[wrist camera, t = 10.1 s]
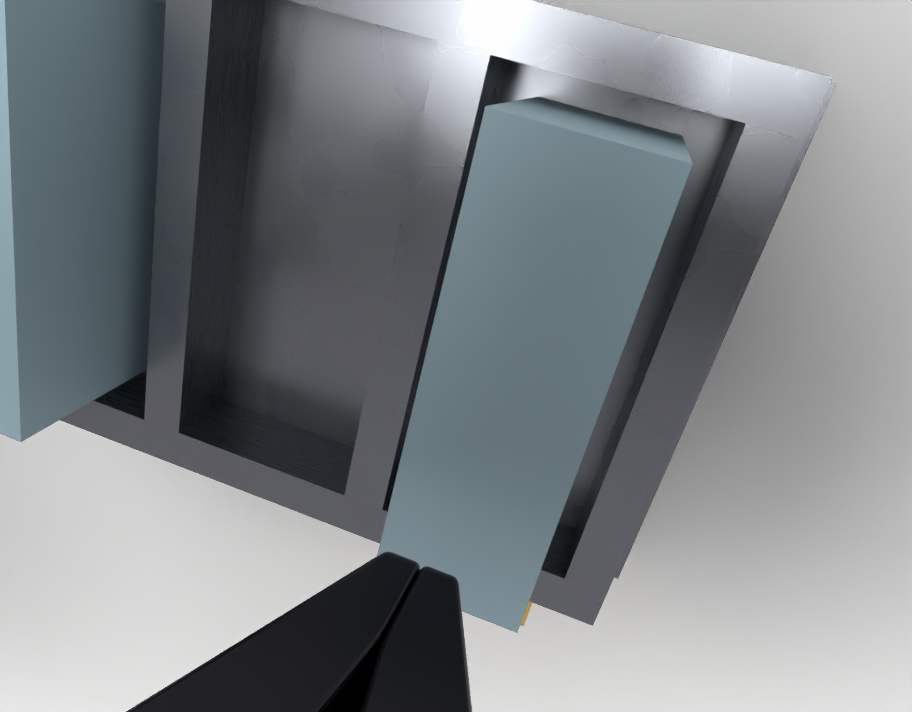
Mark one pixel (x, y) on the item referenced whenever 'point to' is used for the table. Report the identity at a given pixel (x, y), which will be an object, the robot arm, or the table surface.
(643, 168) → the panel
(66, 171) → the fitted panel
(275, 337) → the rack
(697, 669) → the table surface
